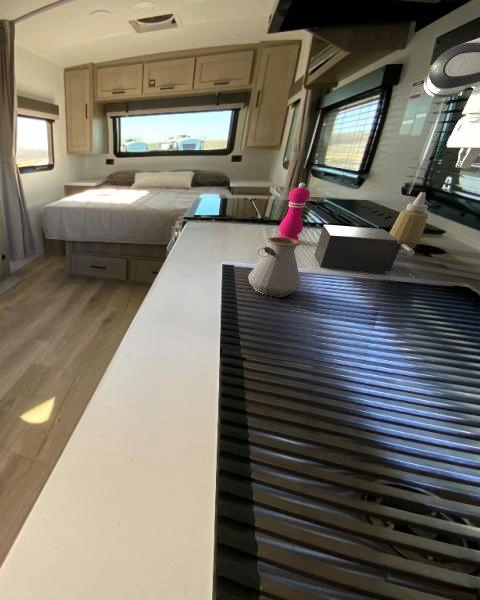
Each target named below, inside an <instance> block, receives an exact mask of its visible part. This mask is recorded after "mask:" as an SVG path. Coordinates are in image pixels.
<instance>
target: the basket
mask: <svg viewBox="0 0 480 600" xmlns="http://www.w3.org/2000/svg"><path fill="white" fill-rule="evenodd" d="M399 249H401V250H399ZM398 254H405V255H406V256H409V257H410V256H414V255H415V250H414V249H411V248H410V247H408V246H407V245H406V244H402V245H401V243H400V242H399V241H398V242H397V244H396V246H395V249H394V251H393V254H392V256H391V258H390V261H389V263H388V266H387V268H386V270H385V272H391V270H392V268H393V265H394V263H395V260H396V258H397V256H398Z"/></svg>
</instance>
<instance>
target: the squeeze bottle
mask: <svg viewBox="0 0 480 600" xmlns="http://www.w3.org/2000/svg"><path fill="white" fill-rule="evenodd" d="M426 194H427V193H426V192H422V191H421V192H419V194H418V195H417V197H416V198H415V200H414V201H413V203H408V204H407V206H406V208H405V210H402V211H401V212H400V213H399V214H398V216H397V218H396V220H395V222H394V223H393V224H392V225H393V226H392V227H391V229H390V230H389V232H388V233H389V234H390V235H391V236H393V237H394V238H395V239H397V240H398V241H399V242H400V243H401V245H402V244H406V245H407V246H408V247H410V248H411V249H412V250H414V249H415V248H416V246H417V245H418V244H419V243H420V242H421V240H422V238H423V234H424V231H425V227H426V225H427V221H428V218H429V213H428V212H426V211H427V210H428V207H429V205H428V204H425V202H426ZM399 250H401V249H399Z"/></svg>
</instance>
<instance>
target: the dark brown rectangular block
mask: <svg viewBox="0 0 480 600" xmlns="http://www.w3.org/2000/svg"><path fill="white" fill-rule="evenodd" d="M389 233H390V232H388V231H387V230H385V229H384V228H374V227H362V226H361V227H358V226H346V225H345V226H344V225H332V224H323V226H322V229H321V232H320V235H319V238H318V242H317V245H316V248H315V252H314V257H315V259H316V261H317V263H318V265H319V268H321V269H331V270H340V271H349V272H356V273H357V272H358V273H365V274H373V273H374V274H375V275H385V273H386V271H385V270H386V268H387V266H388V263H389V261H390V258H391V256H392V254H393V251H394V249H395V246H396V244H397V242H398V240H397V239H395V238H394V237H393V236H391V235H390V234H389Z"/></svg>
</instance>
